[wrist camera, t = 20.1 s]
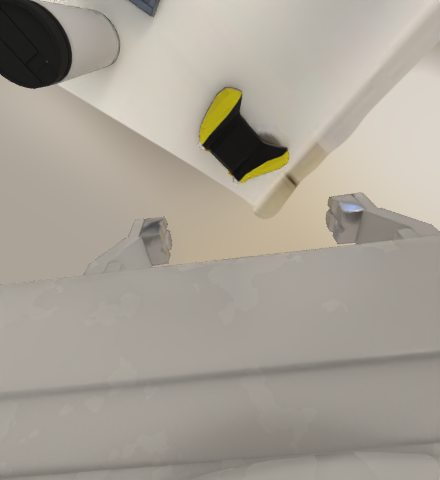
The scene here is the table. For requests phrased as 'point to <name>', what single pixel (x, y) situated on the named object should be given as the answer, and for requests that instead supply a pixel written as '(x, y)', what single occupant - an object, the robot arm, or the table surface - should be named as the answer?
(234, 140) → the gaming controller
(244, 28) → the table surface
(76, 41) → the travel mug
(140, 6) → the tray
